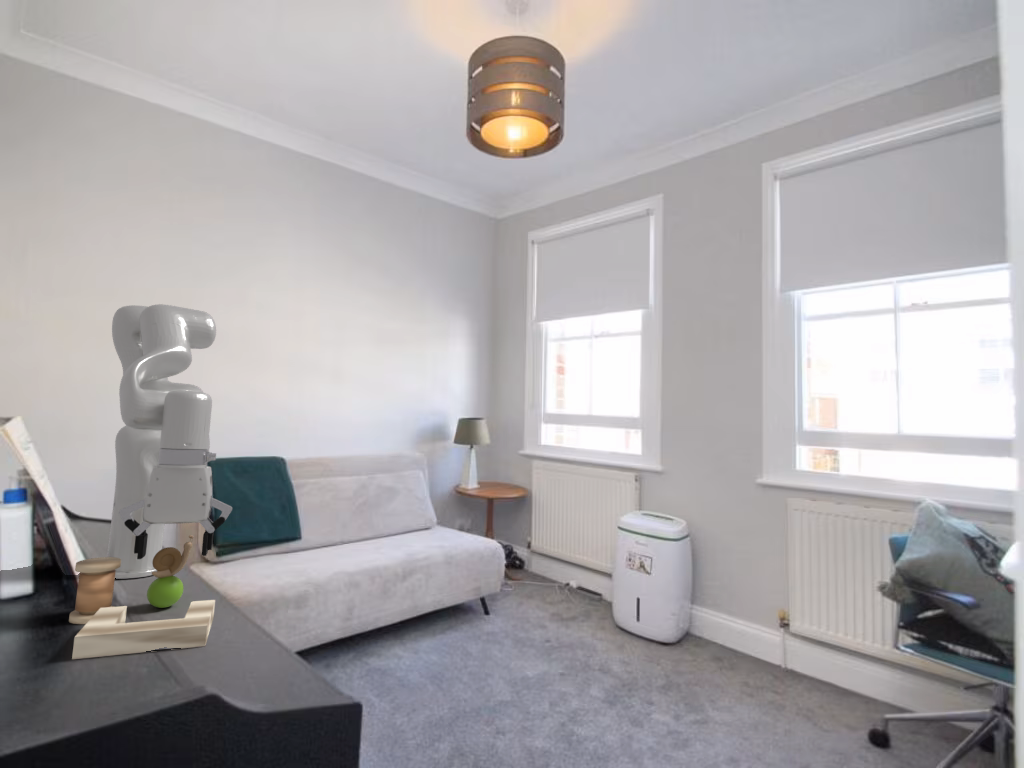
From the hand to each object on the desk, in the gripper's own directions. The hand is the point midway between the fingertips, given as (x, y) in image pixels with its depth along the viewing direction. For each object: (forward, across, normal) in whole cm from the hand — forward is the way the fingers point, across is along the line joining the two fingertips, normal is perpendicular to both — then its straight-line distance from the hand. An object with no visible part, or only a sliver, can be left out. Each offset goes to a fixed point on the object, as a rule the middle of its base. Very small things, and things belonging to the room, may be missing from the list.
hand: (173, 555), depth 94 cm
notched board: (+9, 0, +13) cm, 16 cm away
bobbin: (+9, +10, +2) cm, 14 cm away
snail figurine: (+9, 0, -1) cm, 9 cm away
